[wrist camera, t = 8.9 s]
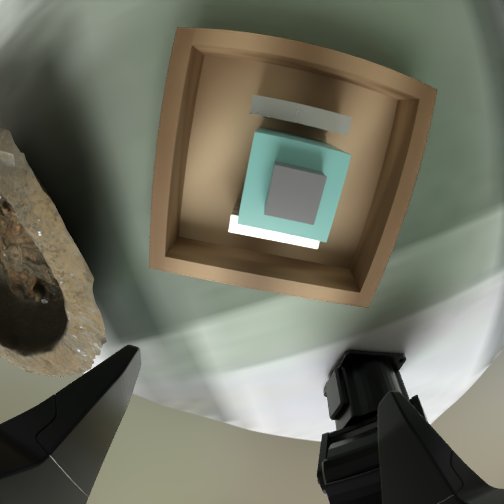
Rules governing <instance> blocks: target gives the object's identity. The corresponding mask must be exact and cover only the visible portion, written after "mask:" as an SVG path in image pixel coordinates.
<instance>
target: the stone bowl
mask: <svg viewBox="0 0 504 504" xmlns="http://www.w3.org/2000/svg"><path fill="white" fill-rule="evenodd" d="M93 281H94V277H93V275H92V273H91V271H90V269H89V267H88V265H87V263H86V262H85V260H84V258H83V256H82V254H81V253H80V251H79V249H78V247H77V246H76V244H75V243H74V241H73V239H72V237H71V235H70V234H69V232H68V231H67V229H66V227H65V224H64V222H63V220H62V218H61V216H60V214H59V212H58V210H57V209H56V207H55V205H54V203H53V202H52V200H51V197H50V195H49V193H48V192H47V191H46V189H45V187H44V186H43V185H42V184H41V182H40V181H39V179H38V177H37V176H36V175H35V173H34V172H33V171H32V169H31V168H30V167H29V165H28V163H27V161H26V158H25V154H24V153H21V152H20V151H19V149H18V147H17V146H16V144H15V143H14V140H13V137H12V135H11V132H10V131H9V130H7V129H4V128H1V127H0V356H1V357H2V358H5V359H6V360H7V361H9V362H10V363H12V364H14V365H16V366H18V367H20V368H21V369H23V370H25V371H27V372H36V373H38V374H42V375H47V376H48V375H50V376H52V375H56V376H65V375H72V374H78V373H82V372H85V371H87V370H89V369H91V366H92V364H93V363H94V361H93V359H94V358H95V355H100V349H101V348H102V345H103V344H104V343H105V342H106V331H105V327H104V323H103V319H102V316H101V312H100V310H99V308H98V307H97V305H96V303H95V299H94V295H93V291H92V289H93ZM41 299H46V300H48V301H49V302H48V303H47V304H43V303H41Z"/></svg>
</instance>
